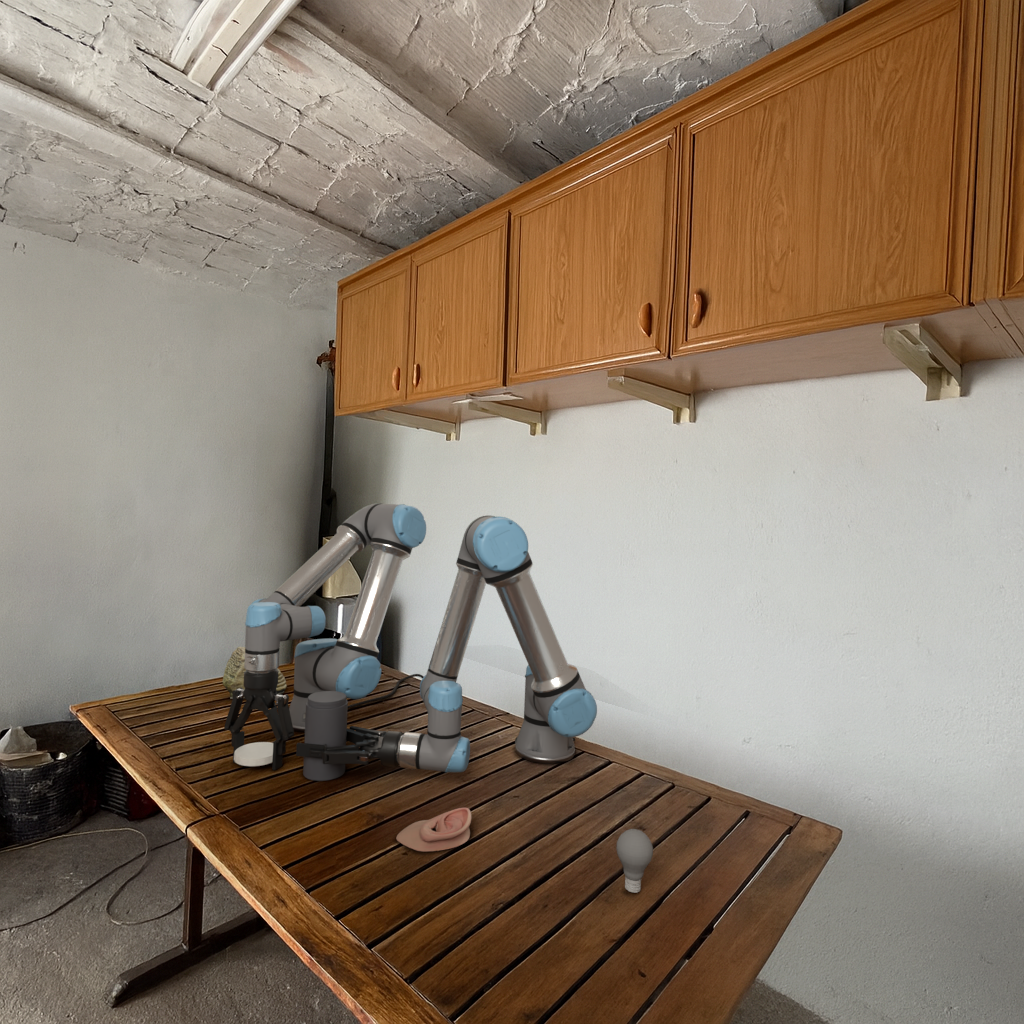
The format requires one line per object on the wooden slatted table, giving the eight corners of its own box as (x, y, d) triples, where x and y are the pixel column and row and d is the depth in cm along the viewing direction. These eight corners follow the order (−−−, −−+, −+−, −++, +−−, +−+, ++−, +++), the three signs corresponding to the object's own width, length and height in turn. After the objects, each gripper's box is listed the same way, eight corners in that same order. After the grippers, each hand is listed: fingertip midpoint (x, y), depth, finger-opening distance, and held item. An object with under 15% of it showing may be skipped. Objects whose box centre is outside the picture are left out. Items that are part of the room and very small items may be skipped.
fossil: (218, 695, 195) (220, 647, 195) (278, 685, 208) (279, 640, 207) (228, 703, 189) (230, 653, 188) (289, 692, 201) (290, 645, 201)
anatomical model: (390, 825, 115) (412, 796, 127) (389, 846, 116) (411, 816, 127) (460, 836, 113) (476, 806, 124) (459, 858, 113) (476, 826, 124)
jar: (329, 783, 140) (332, 705, 140) (294, 776, 143) (297, 699, 143) (353, 767, 149) (355, 693, 148) (319, 760, 152) (322, 688, 151)
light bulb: (610, 879, 108) (613, 822, 108) (644, 879, 109) (647, 822, 109) (619, 902, 102) (622, 840, 102) (655, 901, 103) (658, 840, 103)
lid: (272, 745, 155) (273, 738, 155) (286, 760, 147) (286, 753, 147) (229, 754, 149) (229, 747, 149) (240, 770, 141) (241, 762, 141)
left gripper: (209, 667, 147) (205, 762, 148) (293, 679, 141) (289, 778, 141) (232, 660, 154) (228, 750, 155) (313, 671, 148) (309, 765, 149)
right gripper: (385, 787, 133) (283, 777, 135) (413, 747, 155) (325, 739, 157) (386, 752, 133) (285, 742, 135) (415, 716, 154) (326, 709, 157)
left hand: (257, 764), depth 148 cm, fingers closed on lid, 10 cm apart
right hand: (306, 740), depth 146 cm, fingers closed on jar, 9 cm apart
